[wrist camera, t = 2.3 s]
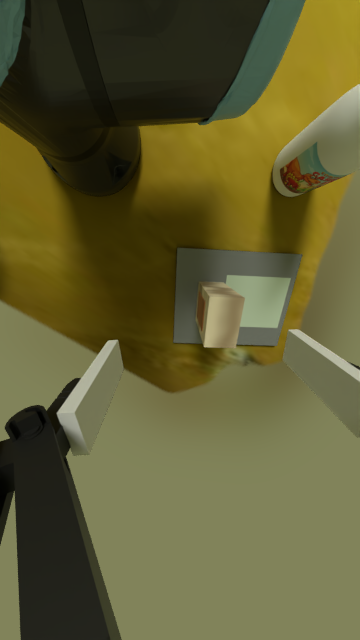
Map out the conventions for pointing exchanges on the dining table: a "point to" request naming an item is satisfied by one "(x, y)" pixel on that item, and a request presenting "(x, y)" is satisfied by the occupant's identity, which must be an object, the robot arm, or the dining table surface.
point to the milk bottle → (322, 149)
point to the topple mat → (243, 277)
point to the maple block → (218, 314)
